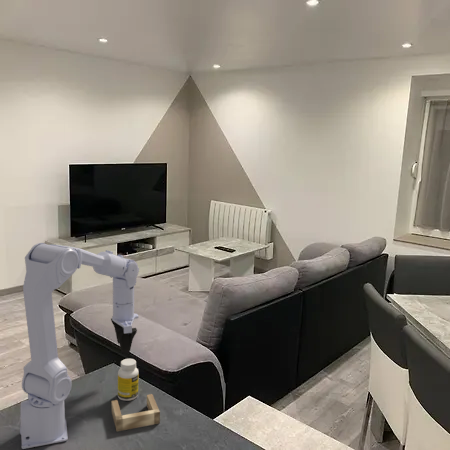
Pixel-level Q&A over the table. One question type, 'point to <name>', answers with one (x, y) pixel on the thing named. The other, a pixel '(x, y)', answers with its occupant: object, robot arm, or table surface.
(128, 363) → the supplement bottle
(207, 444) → the table surface
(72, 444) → the table surface
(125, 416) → the dock
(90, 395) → the table surface
